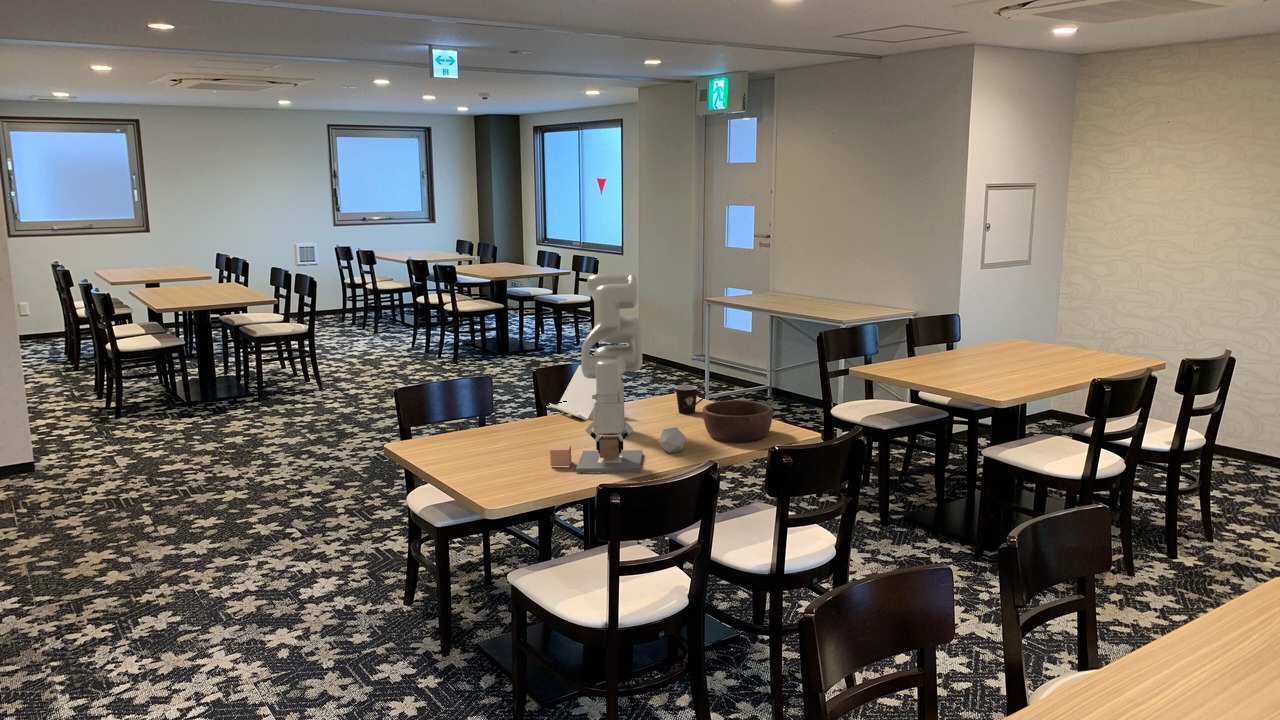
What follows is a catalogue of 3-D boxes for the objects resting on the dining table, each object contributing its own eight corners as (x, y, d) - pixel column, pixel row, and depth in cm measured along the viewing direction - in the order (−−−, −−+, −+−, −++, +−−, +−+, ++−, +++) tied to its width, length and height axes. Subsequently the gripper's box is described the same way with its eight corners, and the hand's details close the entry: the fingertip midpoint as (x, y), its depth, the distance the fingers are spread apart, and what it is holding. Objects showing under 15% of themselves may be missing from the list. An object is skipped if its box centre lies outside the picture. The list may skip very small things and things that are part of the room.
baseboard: (583, 455, 318) (583, 450, 318) (642, 454, 317) (642, 450, 317) (576, 473, 299) (576, 468, 298) (639, 472, 298) (639, 467, 297)
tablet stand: (586, 403, 394) (584, 363, 390) (618, 415, 373) (617, 372, 370) (547, 410, 384) (546, 369, 381) (578, 422, 363) (577, 379, 360)
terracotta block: (553, 462, 311) (552, 445, 310) (571, 462, 311) (570, 444, 310) (550, 468, 305) (550, 450, 304) (569, 467, 305) (568, 449, 304)
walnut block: (601, 452, 311) (601, 435, 309) (620, 452, 310) (619, 434, 309) (600, 458, 305) (599, 440, 304) (618, 457, 304) (618, 439, 303)
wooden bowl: (787, 436, 335) (788, 408, 333) (733, 449, 321) (733, 420, 319) (741, 423, 355) (741, 396, 353) (688, 434, 341) (688, 406, 339)
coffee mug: (674, 414, 370) (674, 389, 368) (677, 409, 378) (676, 385, 376) (704, 415, 368) (703, 390, 366) (706, 410, 376) (706, 385, 374)
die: (678, 447, 326) (661, 426, 325) (694, 439, 320) (677, 418, 319) (667, 461, 321) (649, 440, 319) (683, 453, 314) (665, 431, 313)
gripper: (580, 401, 301) (582, 455, 304) (634, 400, 300) (635, 455, 303) (582, 396, 308) (585, 449, 312) (635, 395, 307) (637, 448, 311)
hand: (610, 451), depth 307 cm, fingers closed on walnut block, 6 cm apart
